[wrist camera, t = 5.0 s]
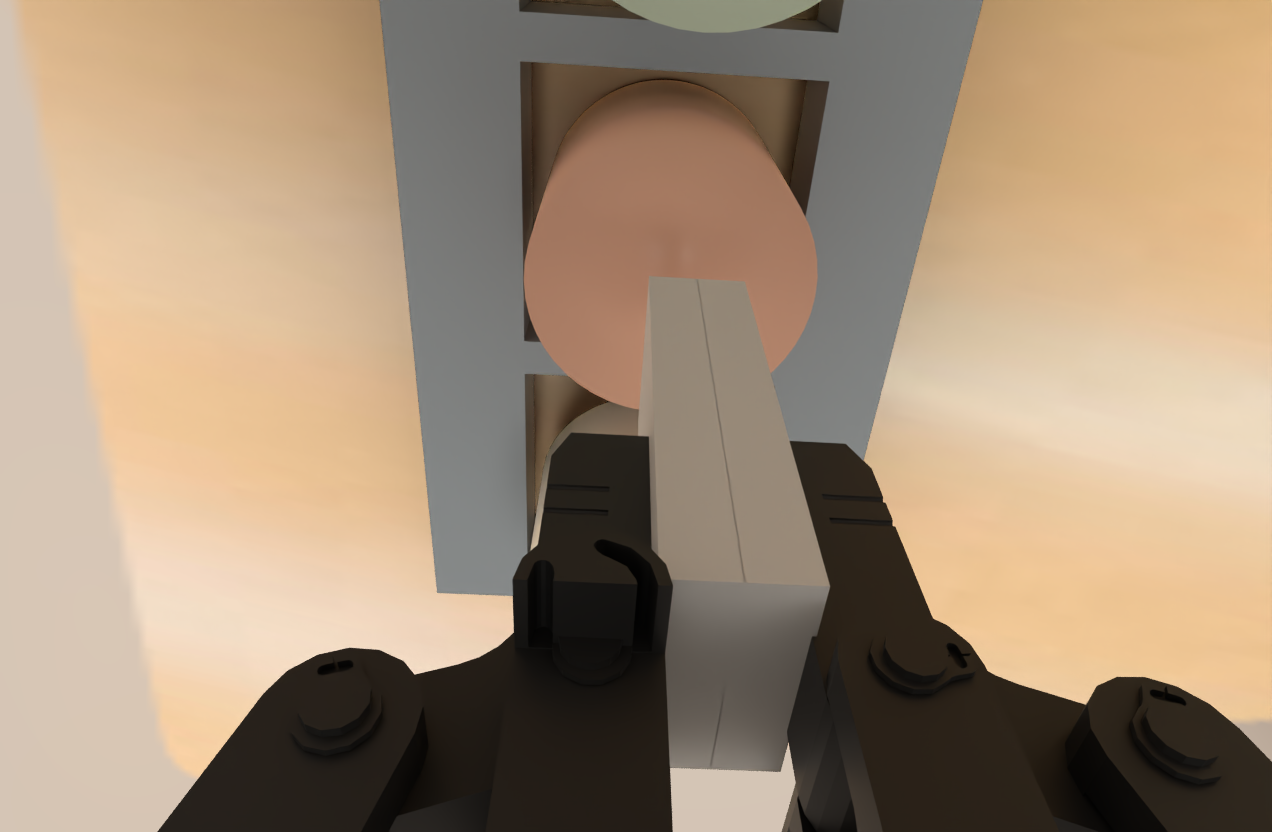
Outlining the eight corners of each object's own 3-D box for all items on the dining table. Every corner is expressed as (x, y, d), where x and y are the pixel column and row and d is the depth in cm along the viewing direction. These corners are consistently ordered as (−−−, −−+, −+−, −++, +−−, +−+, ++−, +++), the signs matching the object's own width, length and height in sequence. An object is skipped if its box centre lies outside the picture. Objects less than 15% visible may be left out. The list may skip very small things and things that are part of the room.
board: (363, -527, 15) (321, -596, 13) (1052, -463, 15) (1118, -522, 13) (451, 544, 29) (437, 592, 27) (811, 559, 29) (824, 608, 27)
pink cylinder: (549, 72, 20) (521, 127, 15) (790, 87, 20) (844, 147, 15) (548, 296, 23) (525, 405, 18) (756, 308, 23) (791, 419, 18)
